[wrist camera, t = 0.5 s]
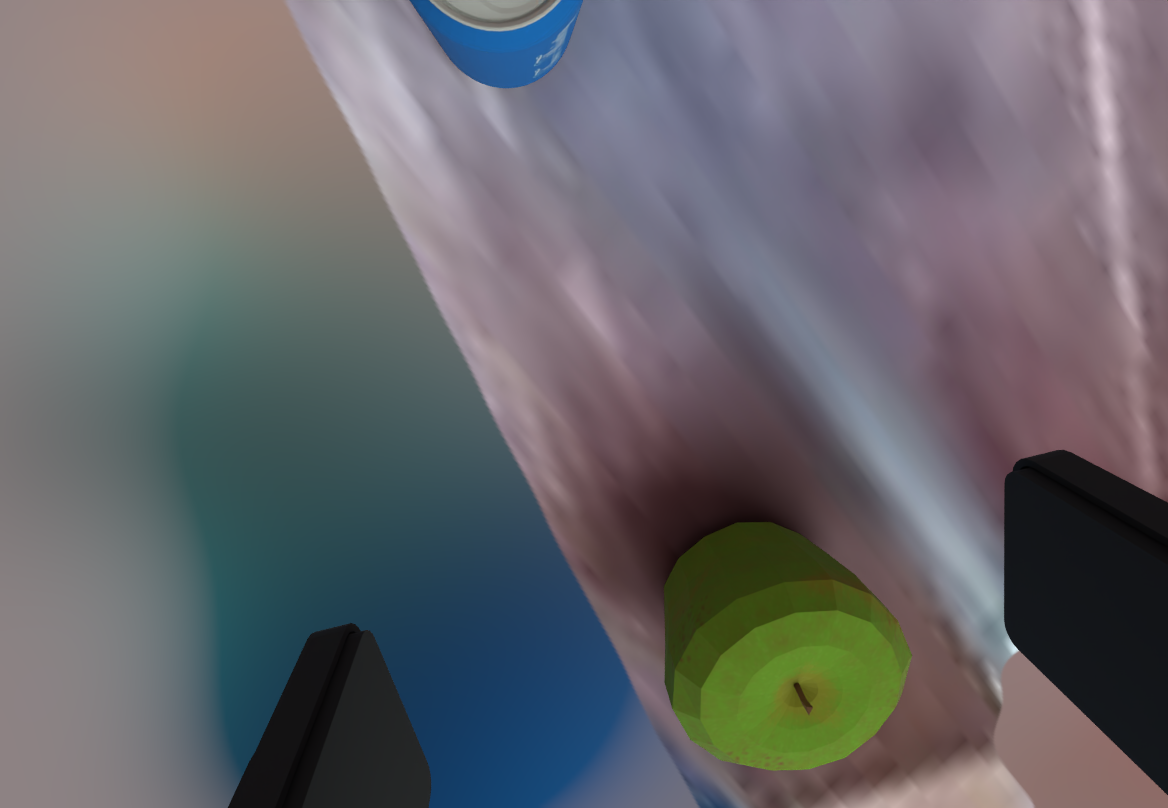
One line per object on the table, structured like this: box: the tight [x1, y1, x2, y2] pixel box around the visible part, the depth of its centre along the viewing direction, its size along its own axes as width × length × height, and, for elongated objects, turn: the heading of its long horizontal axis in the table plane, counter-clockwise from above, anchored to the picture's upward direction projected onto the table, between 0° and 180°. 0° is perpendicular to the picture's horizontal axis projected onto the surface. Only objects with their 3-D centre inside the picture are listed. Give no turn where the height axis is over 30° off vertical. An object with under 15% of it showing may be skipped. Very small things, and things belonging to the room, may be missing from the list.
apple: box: [664, 522, 912, 770], centre depth 37 cm, size 12×12×11 cm
